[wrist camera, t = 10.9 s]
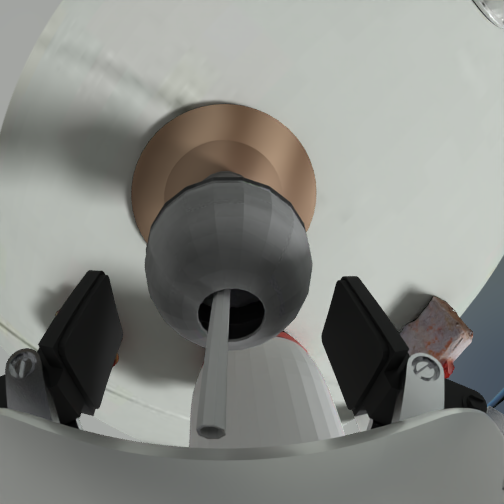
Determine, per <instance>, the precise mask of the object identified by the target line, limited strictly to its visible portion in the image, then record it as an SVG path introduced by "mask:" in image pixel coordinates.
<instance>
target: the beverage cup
mask: <svg viewBox="0 0 504 504" xmlns="http://www.w3.org/2000/svg"><path fill="white" fill-rule="evenodd" d="M145 272H146V278H147V284H148V289H149V293H150V297H151V299H152V300H153V302H154V304H155V306H156V307H157V309H158V311H159V313H160V314H161V316H162V318H163V319H164V321H165V322H166V323H167V324H168V325H170V326H171V327H172V328H173V329H174V330H175V331H176V332H177V333H178V334H180V335H181V336H182V337H184V338H185V339H187V340H189V341H191V342H193V343H195V344H197V345H199V346H201V347H205V348H206V351H205V358H204V366H203V373H202V381H201V389H200V398H199V406H198V415H197V424H196V431H197V433H198V435H199V436H201V437H204V438H206V439H220V438H222V437H223V436H225V435H226V396H227V361H228V351H236V350H244V349H248V348H252V347H255V346H259V345H261V344H263V343H265V342H267V341H269V340H270V339H272V338H274V337H276V336H277V335H278V334H280V333H281V332H282V331H283V330H284V329H285V328H286V327H287V326H288V325H289V324H290V323H291V322H292V321H293V320H294V319H295V318H296V316H297V314H298V312H299V310H300V308H301V306H302V305H303V303H304V301H305V299H306V297H307V295H308V291H309V285H310V279H311V272H312V258H311V253H310V248H309V243H308V238H307V234H306V229H305V225H304V222H303V221H302V219H301V218H300V216H299V215H298V213H297V211H296V210H295V208H294V207H293V205H292V204H291V202H290V201H288V200H287V199H286V198H284V197H283V196H282V195H281V194H279V193H278V192H277V191H275V190H274V189H273V188H271V187H270V186H268V185H265V184H262V183H259V182H256V181H253V180H250V179H247V178H244V177H243V176H242V175H240V174H237V173H234V172H231V171H220V172H217V173H214V174H211V175H209V176H208V177H207V178H205V179H204V180H203V181H201V182H198V183H195V184H192V185H189V186H186V187H185V188H184V189H182V190H181V191H180V192H179V193H177V194H176V195H175V196H173V197H172V198H171V199H170V200H168V201H167V202H166V203H165V204H164V205H163V207H162V208H161V210H160V212H159V213H158V215H157V217H156V218H155V220H154V221H153V223H152V225H151V228H150V232H149V237H148V242H147V247H146V258H145Z"/></svg>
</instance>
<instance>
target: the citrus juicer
mask: <svg viewBox="0 0 504 504" xmlns="http://www.w3.org/2000/svg"><path fill="white" fill-rule="evenodd" d="M203 366H204V362H203V365H202V369H201V371H200V373H199V376H198V378H197V381H196V385H195V388H194V392H193V397H192V404H191V417H190V440H189V447H191V448H257V447H271V446H282V445H291V444H299V443H307V442H313V441H319V440H325V439H331V438H336V437H341V436H345V433H344V430H343V427H342V424H341V421H340V418H339V415H338V412H337V409H336V406H335V403H334V401H333V398H332V395H331V392H330V390H329V388H328V385H327V383H326V381H325V379H324V377H323V375H322V373H321V371H320V370H319V368H318V367H317V365H316V363H315V362H314V360H313V359H312V358H311V357H310V356H309V354H308V353H307V351H306V350H305V349H304V348H303V347H302V346H301V345H300V344H299V343H298V342H297V341H296V340H295V339H294V338H293V337H291V336H290V335H288V334H286V333H285V332H281V333H280V334H278V335H277V336H276V337H274V338H272V339H270V340H269V341H267V342H265V343H263V344H261V345H259V346H255V347H252V348H248V349H244V350H236V351H228V361H227V396H226V435H225V436H223V437H222V438H220V439H206V438H204V437H201V436H199V435H198V433H197V431H196V424H197V415H198V406H199V398H200V389H201V381H202V373H203Z"/></svg>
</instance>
